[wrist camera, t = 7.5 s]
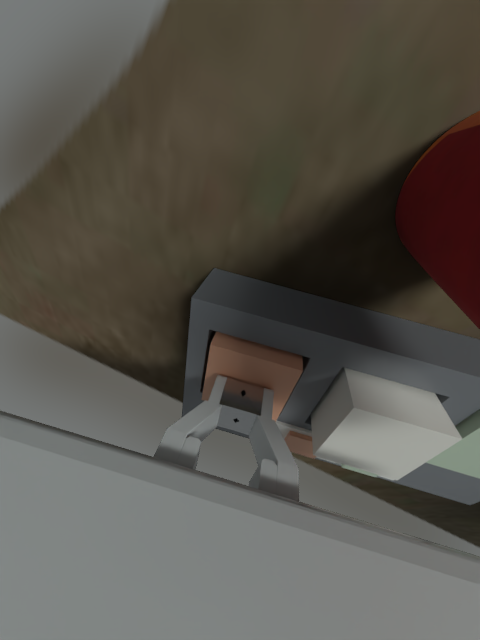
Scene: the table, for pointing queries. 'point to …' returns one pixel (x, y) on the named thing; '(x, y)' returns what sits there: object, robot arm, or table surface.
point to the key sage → (463, 449)
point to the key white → (379, 425)
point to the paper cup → (446, 214)
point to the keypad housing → (336, 360)
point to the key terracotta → (253, 367)
